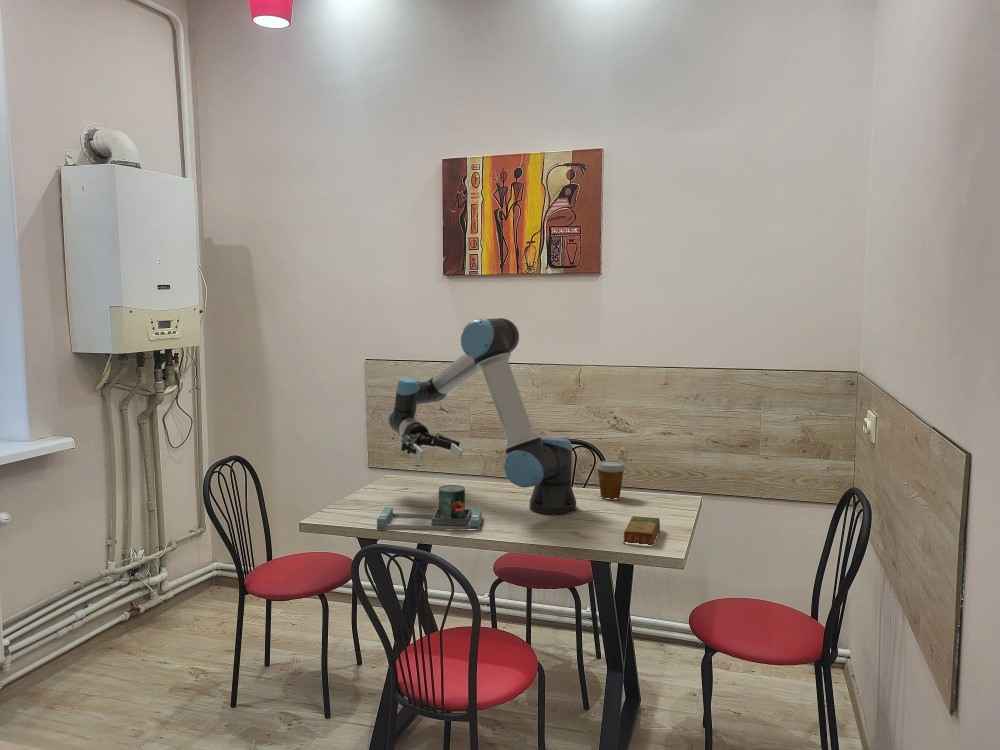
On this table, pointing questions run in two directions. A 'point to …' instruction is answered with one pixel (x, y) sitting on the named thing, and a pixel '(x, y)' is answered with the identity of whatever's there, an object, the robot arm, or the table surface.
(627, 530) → the carton
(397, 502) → the table surface
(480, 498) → the table surface
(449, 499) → the canned tomato
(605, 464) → the disposable coffee cup
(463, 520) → the carriage
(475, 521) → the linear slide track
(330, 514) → the table surface
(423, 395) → the robot arm
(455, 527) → the rail
